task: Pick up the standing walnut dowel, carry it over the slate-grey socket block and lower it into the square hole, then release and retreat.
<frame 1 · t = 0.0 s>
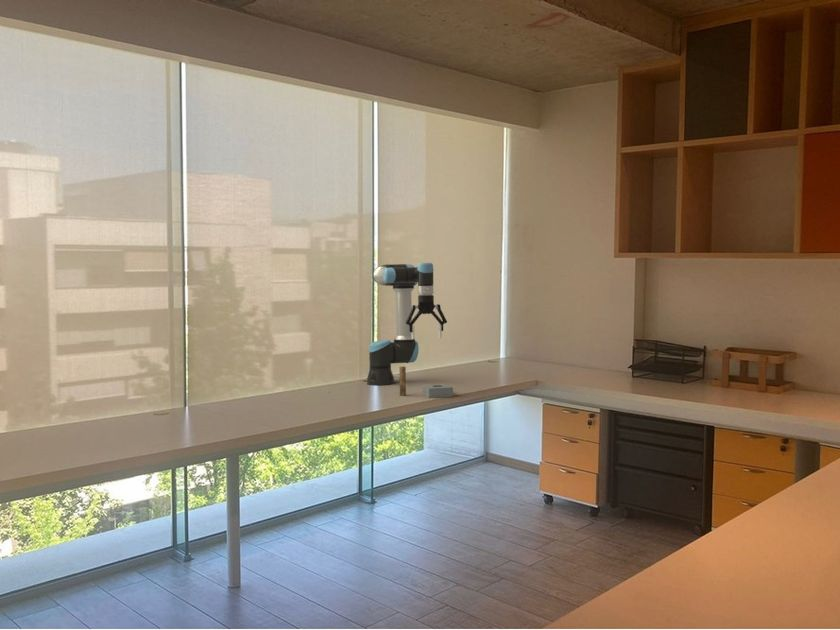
hand: (426, 338, 368), 28 cm above the worktop, fingers open, 13 cm apart
dowel: (403, 395, 371), on the worktop
socket block: (437, 395, 369), on the worktop
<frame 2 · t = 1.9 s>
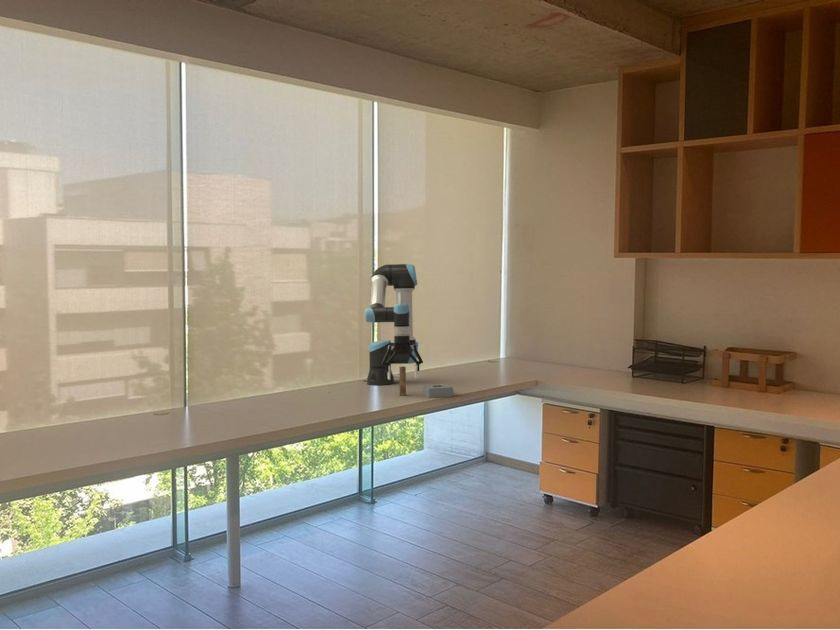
hand: (402, 378, 370), 8 cm above the worktop, fingers open, 13 cm apart
nothing on the worktop moved.
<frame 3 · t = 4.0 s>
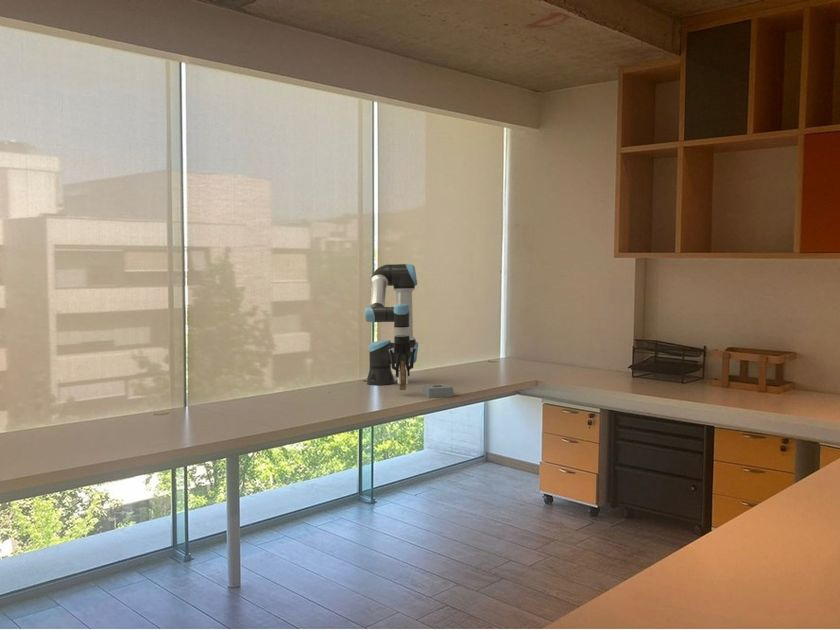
hand: (402, 383, 371), 6 cm above the worktop, fingers closed on dowel, 3 cm apart
dowel: (402, 389, 371), point 3 cm above the worktop, touching gripper
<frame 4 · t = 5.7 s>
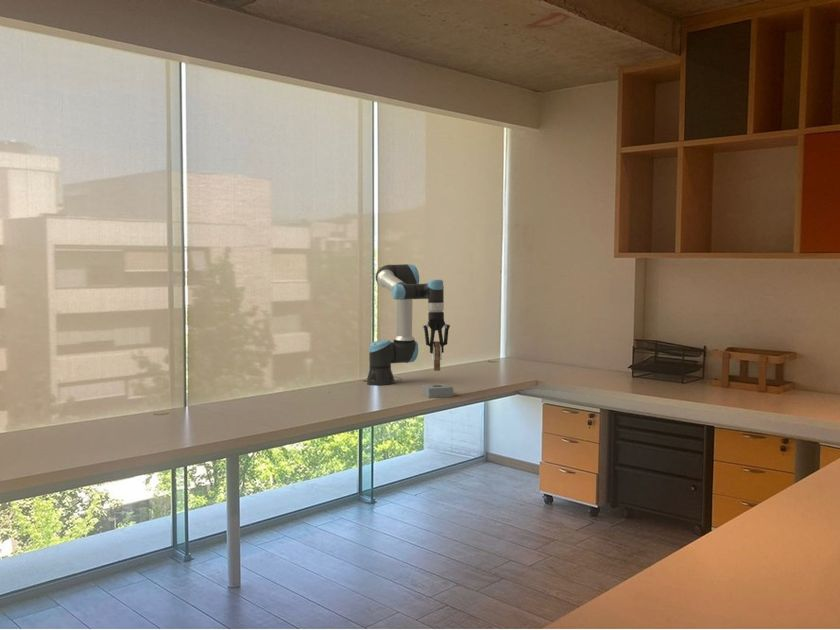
hand: (436, 359, 368), 17 cm above the worktop, fingers closed on dowel, 3 cm apart
dowel: (437, 370, 368), point 12 cm above the worktop, touching gripper
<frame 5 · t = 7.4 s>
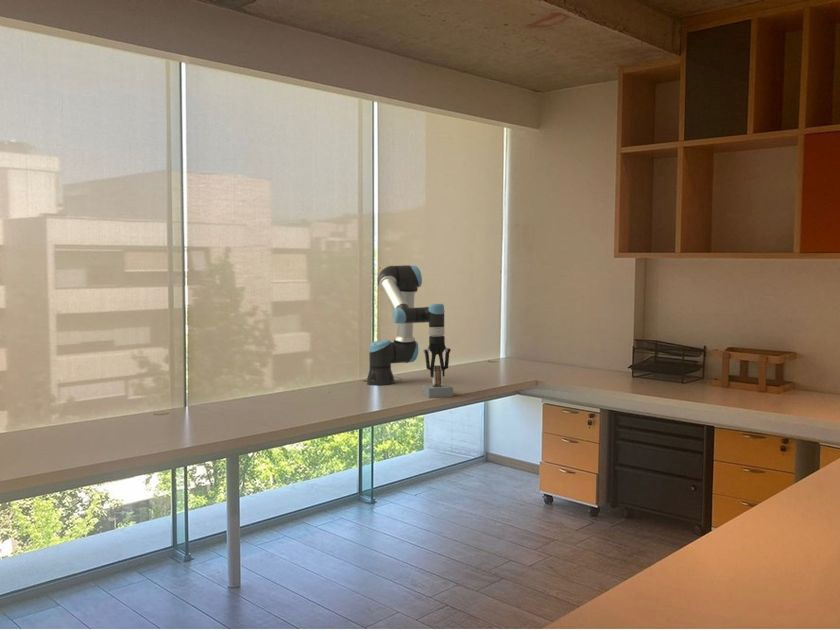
hand: (437, 383, 368), 6 cm above the worktop, fingers closed on dowel, 3 cm apart
dowel: (437, 394, 369), resting on socket block, touching gripper
when the fingers open (6 cm above the worktop, at t = 7.9 s): dowel stays where it is, resting on socket block.
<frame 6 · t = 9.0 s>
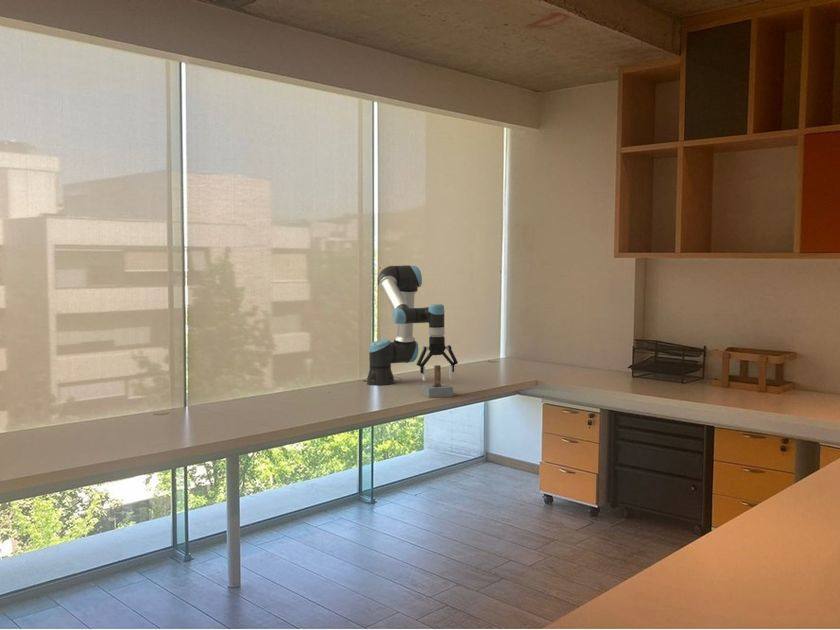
hand: (437, 379, 368), 8 cm above the worktop, fingers open, 13 cm apart
dowel: (437, 394, 369), point 1 cm above the worktop, touching socket block
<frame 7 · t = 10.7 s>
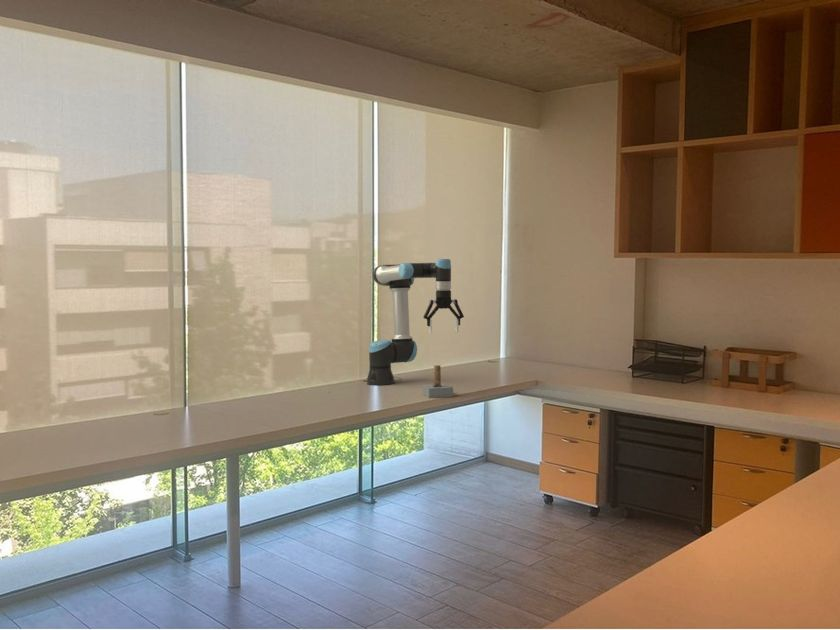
hand: (443, 332, 377), 30 cm above the worktop, fingers open, 13 cm apart
nothing on the worktop moved.
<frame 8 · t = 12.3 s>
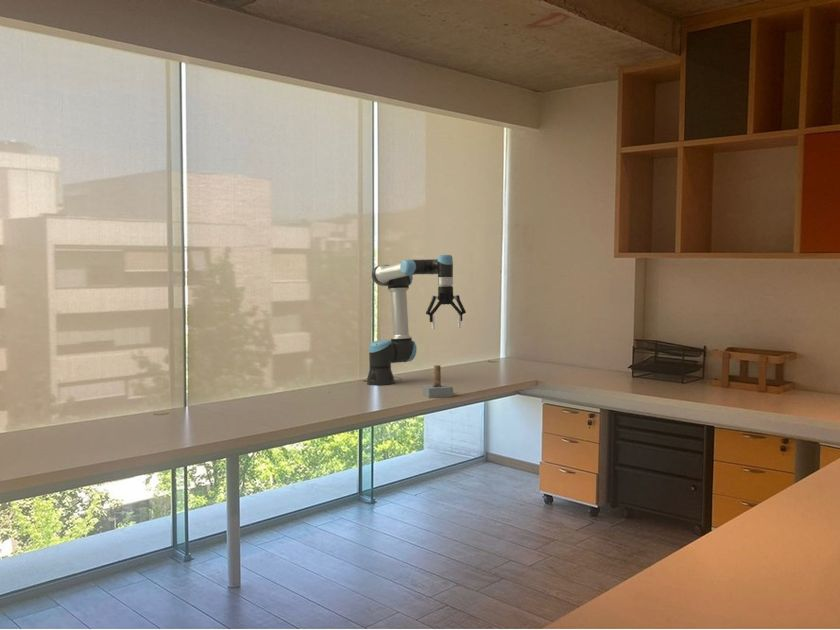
hand: (446, 328, 380), 32 cm above the worktop, fingers open, 13 cm apart
nothing on the worktop moved.
at the end: dowel 0.1 cm off-centre on the socket block, point 0.5 cm above the socket block's base; dowel tilted 0°; the gripper is holding nothing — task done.
